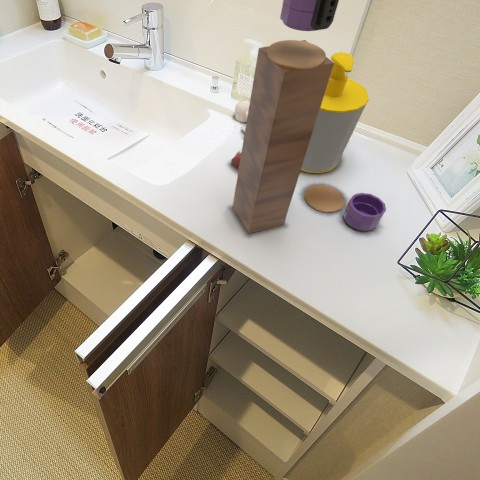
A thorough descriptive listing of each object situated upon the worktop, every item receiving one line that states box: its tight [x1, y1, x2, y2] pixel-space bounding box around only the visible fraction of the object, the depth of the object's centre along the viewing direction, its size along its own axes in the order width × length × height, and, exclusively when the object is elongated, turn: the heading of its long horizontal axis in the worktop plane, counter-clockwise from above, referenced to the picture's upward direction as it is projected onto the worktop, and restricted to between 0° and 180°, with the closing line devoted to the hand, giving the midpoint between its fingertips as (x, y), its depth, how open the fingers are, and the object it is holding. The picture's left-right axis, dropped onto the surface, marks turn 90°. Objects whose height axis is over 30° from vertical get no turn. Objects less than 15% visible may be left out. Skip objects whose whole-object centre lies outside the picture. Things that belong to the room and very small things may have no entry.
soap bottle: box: [301, 51, 370, 174], centre depth 79 cm, size 13×13×21 cm
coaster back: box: [303, 184, 345, 214], centre depth 79 cm, size 7×7×1 cm
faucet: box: [234, 99, 250, 123], centre depth 91 cm, size 4×18×10 cm, turn 24°
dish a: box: [279, 0, 317, 32], centre depth 49 cm, size 6×6×4 cm
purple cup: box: [343, 192, 387, 232], centre depth 74 cm, size 6×6×4 cm
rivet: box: [240, 124, 246, 133], centre depth 90 cm, size 10×2×2 cm, turn 24°
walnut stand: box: [232, 39, 334, 235], centre depth 65 cm, size 7×7×30 cm
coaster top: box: [267, 39, 327, 69], centre depth 53 cm, size 7×7×1 cm
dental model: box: [230, 150, 242, 168], centre depth 84 cm, size 6×4×8 cm
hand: (305, 17), depth 50 cm, fingers closed on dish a, 6 cm apart
